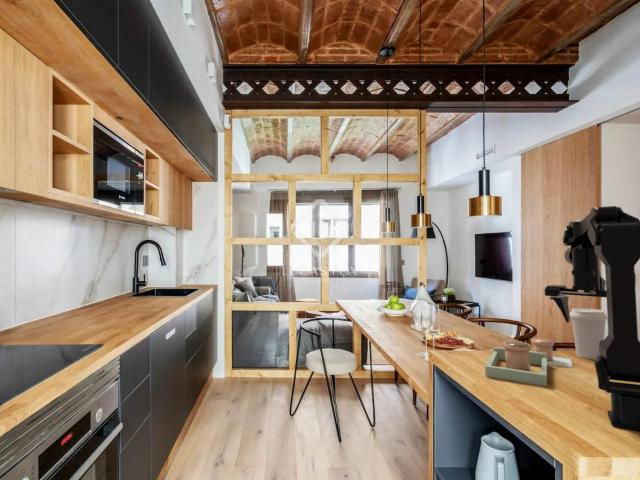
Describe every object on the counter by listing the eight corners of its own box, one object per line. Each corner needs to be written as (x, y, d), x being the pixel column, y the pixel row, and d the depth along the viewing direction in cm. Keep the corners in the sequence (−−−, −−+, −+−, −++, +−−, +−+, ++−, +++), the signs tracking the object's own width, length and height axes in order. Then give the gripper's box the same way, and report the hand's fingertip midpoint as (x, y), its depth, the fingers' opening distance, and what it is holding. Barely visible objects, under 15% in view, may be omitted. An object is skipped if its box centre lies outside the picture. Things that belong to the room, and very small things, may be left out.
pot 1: (531, 376, 94) (530, 348, 95) (502, 372, 98) (501, 345, 98) (532, 369, 100) (531, 342, 100) (504, 365, 104) (504, 339, 104)
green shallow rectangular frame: (546, 387, 88) (546, 371, 88) (485, 377, 96) (485, 362, 96) (547, 367, 103) (546, 353, 103) (494, 359, 111) (494, 346, 111)
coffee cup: (573, 360, 108) (571, 311, 109) (568, 352, 117) (566, 307, 117) (613, 364, 104) (610, 313, 104) (605, 355, 112) (602, 308, 113)
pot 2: (554, 362, 105) (553, 343, 105) (532, 359, 108) (531, 341, 108) (554, 357, 109) (553, 339, 109) (533, 355, 112) (532, 337, 113)
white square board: (572, 370, 100) (572, 367, 100) (523, 363, 106) (523, 361, 106) (570, 360, 109) (570, 358, 109) (525, 354, 115) (525, 352, 115)
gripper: (638, 266, 93) (641, 326, 92) (557, 265, 108) (559, 316, 107) (627, 268, 86) (630, 332, 85) (542, 266, 101) (544, 321, 100)
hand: (588, 324), depth 95 cm, fingers open, 9 cm apart
